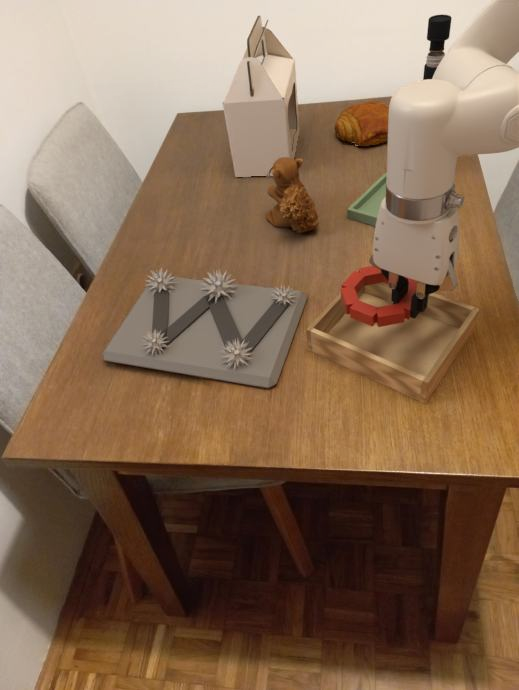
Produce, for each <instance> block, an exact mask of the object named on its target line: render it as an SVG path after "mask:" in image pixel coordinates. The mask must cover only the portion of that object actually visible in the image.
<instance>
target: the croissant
mask: <svg viewBox="0 0 519 690" xmlns="http://www.w3.org/2000/svg"><path fill="white" fill-rule="evenodd" d="M388 116H389V105H386V104H385V103H383V102H382V101H376V100H369V101H368V100H367V101H363V102H361V103H357V104H353V105H352V106H351V105H350V106H348V107H346V108H345V109H343V111H342V112H341V113H340V114H339V115H338V117H337V119H336V121H335V124H334V132H335V134H336V135H337V134H338V135H337V137H338V139H340V140H341V139H342V140H341V141H344V142H345V141H349V142H355V144H356V145H358V146H361V147H371V146H370V145H373V146H377V145H381V144H380V143H382V144H384V143H383V142H385V143H387V142H388ZM349 142H348V143H349ZM358 146H357V147H358Z"/></svg>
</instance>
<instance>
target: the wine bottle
mask: <svg viewBox="0 0 519 690" xmlns="http://www.w3.org/2000/svg"><path fill="white" fill-rule="evenodd" d="M451 25H452V16H451V15H448V14H435V15H432V16H429V18H428V23H427V32H426V33H427V34H426V40H427V41H428V42H429V49H428V53H427V56H426V57H425V58H426V59H425V62H426V63H425V64H424V66H423V77H422V80H426V79H432V78H433V75H434V73H435V71H436V69H437V67H438V65H439V63H440V62H441V60H442V59H443V57H444V56H445V54H446V53H445V43H446V41H447V40H449V39H450V35H451V34H450V33H451V27H452V26H451Z"/></svg>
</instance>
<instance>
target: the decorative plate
mask: <svg viewBox="0 0 519 690" xmlns="http://www.w3.org/2000/svg"><path fill="white" fill-rule="evenodd" d="M155 271H156V272H155ZM155 271H153V270H150V273H151V276H150V275H148V274H146V277H147V278H146V279H144V281H145V282H148V283H147V284H145V288H144V289H143V290H142V292H141V294H140V295H139V296H138V299H137V300H136V302H135V303H134V305H133V306H132V308H131V309H130V310H129V312H128V314H127V315H126V316H125V318H124V320H123V321H122V322H121V324H120V326H119V327H118V328H117V330H116V332H115V333H114V335H113V337H112V339H110V341H109V343H108V344H107V345H106V348H104V350H103V352H102V353H101V356H102V359H103V361H104V362H109V363H114V364H115V363H116V364H122V365H128V366H133V367H138V368H146V369H152V370H157V371H161V372H168V373H175V374H180V375H186V376H191V377H192V376H193V377H197V378H204V379H210V380H216V381H222V382H228V383H232V384H233V383H234V384H241V385H247V386H252V387H257V388H264V389H270V388H272V387H274V386H276V385H277V384H278V382H279V379H280V376H281V373H282V370H283V368H284V365H285V362H286V360H287V357H288V353H289V351H290V347H291V345H292V342H293V339H294V337H295V334H296V331H297V328H298V326H299V323H300V320H301V316H302V314H303V312H304V308H305V306H306V302H307V300H308V295H307V294H306V292H305V291H303V290H296V289H295V290H294V289H293V288H290V287H291V286H290V285H288V287H287V288H286V285H285V284H283V286H282V284H280V285H279V286H280V288H278V287H268V286H258V285H250V284H240V283H234V282H235V281H236V280H237V279H236V278H234V279H230V278H231V275H232V273H227V272H228V270H227V269H226V271H225V272H224V273H223V274H222V273H221V269H220V267H218V270H216V272H215V269H214V268H213V271H212V272H213V274H211V272H209V271H206V273H207V275H208V277H209V278H208V277H203V276H201V278H202V279H196V278H187V277H186V278H185V277H178V276H172V274H173V272H170V271H169V268H167V269H166V271H164V272H163V267H161V268H160V270H158V269H157V268H155ZM169 272H170V273H169ZM229 279H230V280H229Z"/></svg>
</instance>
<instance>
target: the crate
mask: <svg viewBox="0 0 519 690" xmlns="http://www.w3.org/2000/svg"><path fill="white" fill-rule="evenodd" d="M357 296H358V298H359V301H362V302H364V303H367V304H370V305H372V306H375V307H382V306H387V305H392V304H393V301H391V296H392V289H391V288H390V287H389V286H388V284H387V283H384V282H383V283H377V284H372V285H367V286H364V287H363V288H362V289H361V290H360V291H359V293H358V294H357ZM479 312H480V308H478V307H474V306H472V305H471V304H467V303H464V302H461V301H458V300H456V299H453V298H449V297H447V296H444V295H441V294H438V293H436V292H434V293H432V294H429V295H428V303H427V307H426V309H425V310H424V312H420V313H419V314H418V315H417V317H416V318H415V319H414V318H410V319H409V320H408V319H405V320H404V322H403V323H398V324H393V325H387V326H382V327H378V325H377V323H375V324H374V326H370V325H367V324H365V323H362V322H360V321H357V320H355V319H352V318H350V314H346V311H345V308H344V305H343V302H342V300H341V291H340V292H339V293H338V294H337V295H336V296H335V297H334V298H333V299H332V301H331V302H330V303H329V304H328V305H327V306H325V308H324V309H323V310H322V312H321V313H320V314H318V316H317V317H316V318H315V319H314V320H313V321H312V322H311V323H310V325H308V326H307V328H306V329H305V333H306V343H307V350H308V351H310V352H312V353H315V354H316V355H319V356H321V357H323V358H326V359H327V360H330V361H332V362H334V363H335V364H338V365H341V366H342V367H345V368H347V369H349V370H351V371H352V372H353V371H354V372H355V373H358V374H359V375H361V376H364V377H366V378H369V379H371V380H373V381H375V382H377V383H379V384H382V385H383V386H385V387H388V388H390V389H392V390H394V391H396V392H398V393H400V394H403V395H405V396H407V397H409V398H412V399H414V400H416V401H418V402H420V403H421V404H426V403H427V401H428V400H429V398H430V397H431V395H432V394H433V392H434V391H435V389H436V388H437V387H438V385H439V383H440V382H441V380H442V379H443V378H444V376H445V374H446V373H447V372H448V370H449V369H450V367H451V366H452V364H453V362H454V361H455V360H456V358H457V357H458V356H459V354H460V353H461V351H462V349H463V348H464V347H465V345H466V344H467V342H468V340H469V339H470V338H471V336H472V335H473V333H474V331H475V328H476V324H477V320H478V316H479Z"/></svg>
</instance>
